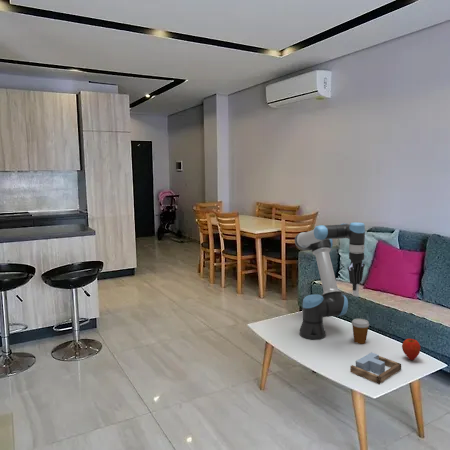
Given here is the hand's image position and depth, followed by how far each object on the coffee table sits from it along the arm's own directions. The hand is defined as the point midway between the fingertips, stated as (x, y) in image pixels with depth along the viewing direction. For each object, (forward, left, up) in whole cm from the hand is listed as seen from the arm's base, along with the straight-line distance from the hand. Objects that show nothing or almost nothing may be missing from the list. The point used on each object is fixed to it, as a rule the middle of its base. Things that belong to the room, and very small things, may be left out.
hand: (355, 295), depth 212 cm
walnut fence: (+19, -12, -30) cm, 38 cm away
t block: (+18, -12, -30) cm, 37 cm away
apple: (+25, +12, -31) cm, 41 cm away
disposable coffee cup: (-4, +12, -31) cm, 33 cm away
